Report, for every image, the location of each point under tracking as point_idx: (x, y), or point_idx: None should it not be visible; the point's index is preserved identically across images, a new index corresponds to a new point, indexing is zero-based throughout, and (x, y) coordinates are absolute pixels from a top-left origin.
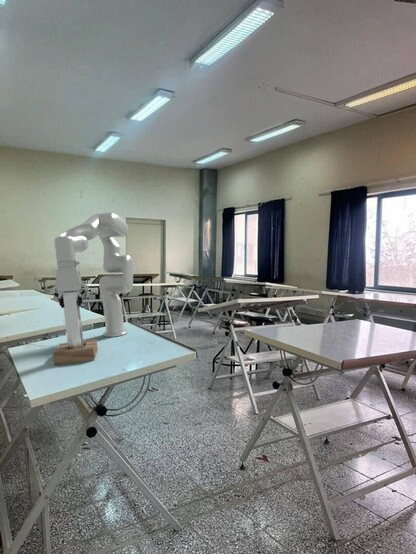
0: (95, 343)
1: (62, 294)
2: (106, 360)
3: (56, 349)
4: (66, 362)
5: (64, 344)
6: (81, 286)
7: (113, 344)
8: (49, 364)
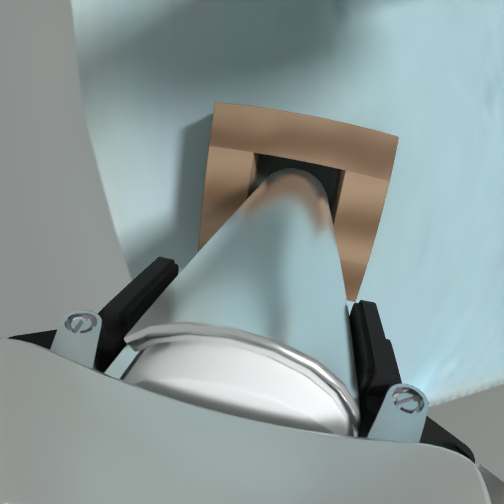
0: (383, 203)
1: (96, 368)
2: (384, 305)
3: (204, 207)
4: None
5: (236, 134)
6: (484, 488)
7: (453, 100)
8: (193, 224)
